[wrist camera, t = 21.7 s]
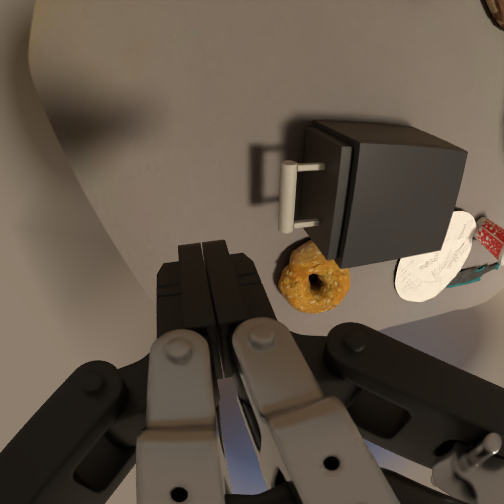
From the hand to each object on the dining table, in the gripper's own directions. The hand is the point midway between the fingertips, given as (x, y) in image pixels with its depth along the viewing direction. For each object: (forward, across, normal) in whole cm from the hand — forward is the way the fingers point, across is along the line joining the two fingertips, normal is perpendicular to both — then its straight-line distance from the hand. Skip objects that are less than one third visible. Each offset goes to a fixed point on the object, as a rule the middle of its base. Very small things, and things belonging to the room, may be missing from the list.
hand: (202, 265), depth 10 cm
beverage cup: (+23, -53, +17) cm, 60 cm away
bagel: (+23, -15, +20) cm, 34 cm away
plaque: (+23, -41, +22) cm, 52 cm away
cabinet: (+23, -21, +6) cm, 32 cm away
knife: (+23, -56, +29) cm, 67 cm away
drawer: (+22, -17, +6) cm, 28 cm away
